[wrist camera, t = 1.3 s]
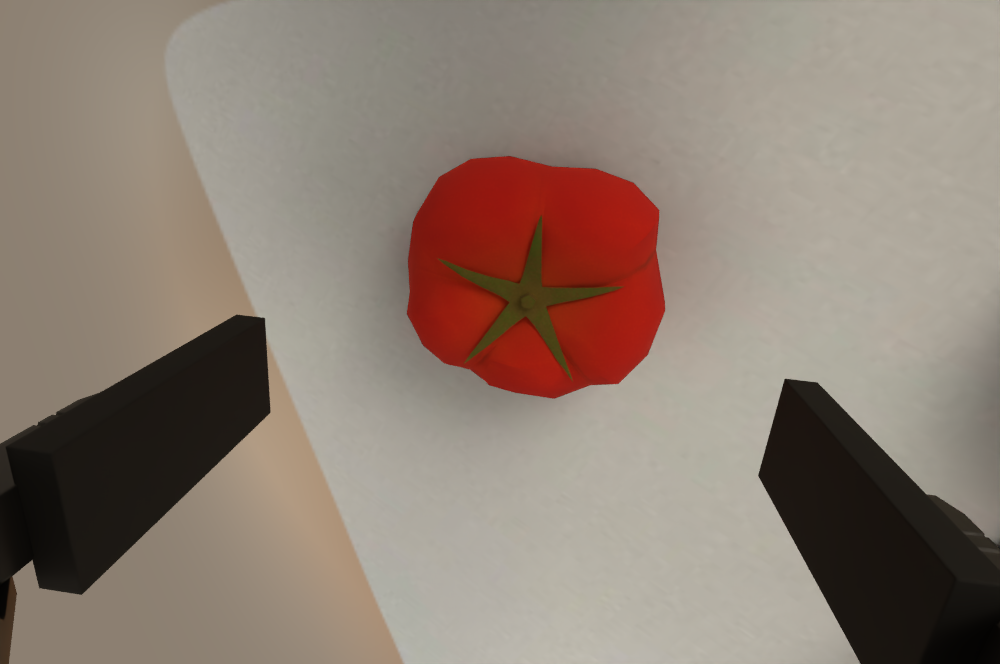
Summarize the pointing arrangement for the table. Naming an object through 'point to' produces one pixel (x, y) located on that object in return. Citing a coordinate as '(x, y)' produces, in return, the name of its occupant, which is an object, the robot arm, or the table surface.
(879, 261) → the table surface
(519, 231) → the tomato
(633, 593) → the table surface
